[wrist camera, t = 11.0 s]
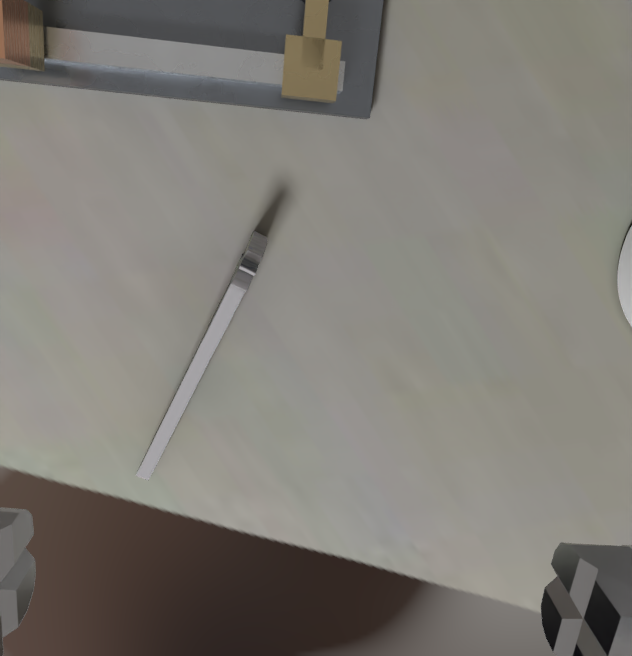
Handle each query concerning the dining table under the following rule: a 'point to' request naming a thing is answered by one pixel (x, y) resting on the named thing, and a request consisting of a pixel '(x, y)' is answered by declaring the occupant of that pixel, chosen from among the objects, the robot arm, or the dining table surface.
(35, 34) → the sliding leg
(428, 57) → the dining table surface
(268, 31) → the bolt plate
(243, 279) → the caliper
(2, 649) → the robot arm
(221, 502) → the dining table surface
